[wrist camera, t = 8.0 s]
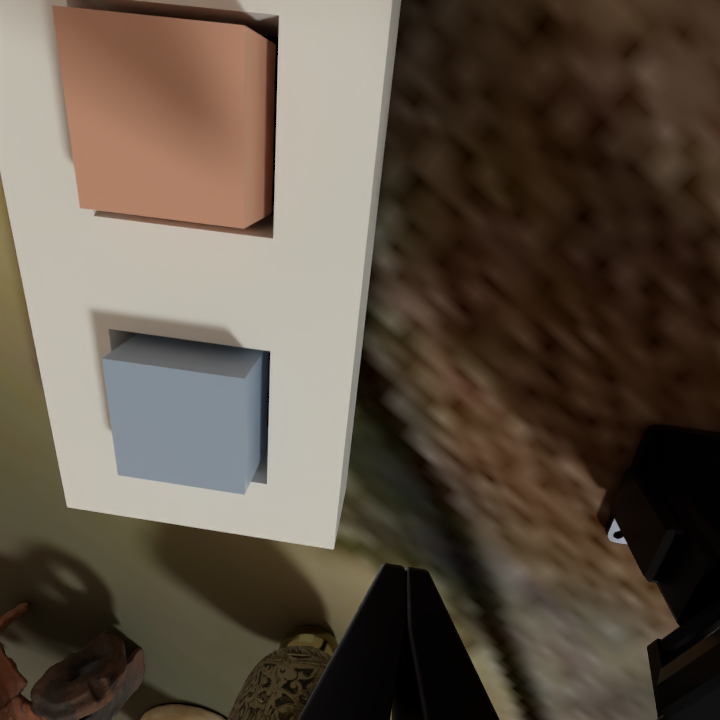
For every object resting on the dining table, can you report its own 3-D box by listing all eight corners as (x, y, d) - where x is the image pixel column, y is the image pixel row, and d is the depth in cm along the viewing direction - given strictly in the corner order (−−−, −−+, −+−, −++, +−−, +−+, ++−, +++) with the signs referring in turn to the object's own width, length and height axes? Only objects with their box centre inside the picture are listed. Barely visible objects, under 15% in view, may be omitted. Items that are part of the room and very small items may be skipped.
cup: (228, 624, 30) (169, 779, 23) (319, 580, 28) (284, 737, 21) (305, 692, 32) (273, 853, 25) (397, 656, 30) (390, 824, 23)
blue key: (269, 343, 19) (244, 378, 17) (266, 448, 21) (244, 494, 19) (145, 327, 20) (101, 358, 17) (155, 432, 22) (117, 475, 19)
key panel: (408, -63, 15) (405, -122, 12) (345, 488, 25) (333, 549, 21) (42, -97, 16) (-67, -163, 12) (116, 453, 25) (67, 507, 22)
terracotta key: (275, 44, 15) (244, 25, 12) (271, 213, 17) (244, 228, 14) (117, 27, 15) (51, 5, 12) (132, 196, 17) (80, 207, 15)
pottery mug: (111, 702, 36) (-23, 801, 30) (65, 580, 37) (-74, 649, 31) (196, 695, 29) (47, 823, 23) (136, 547, 31) (-22, 626, 24)
